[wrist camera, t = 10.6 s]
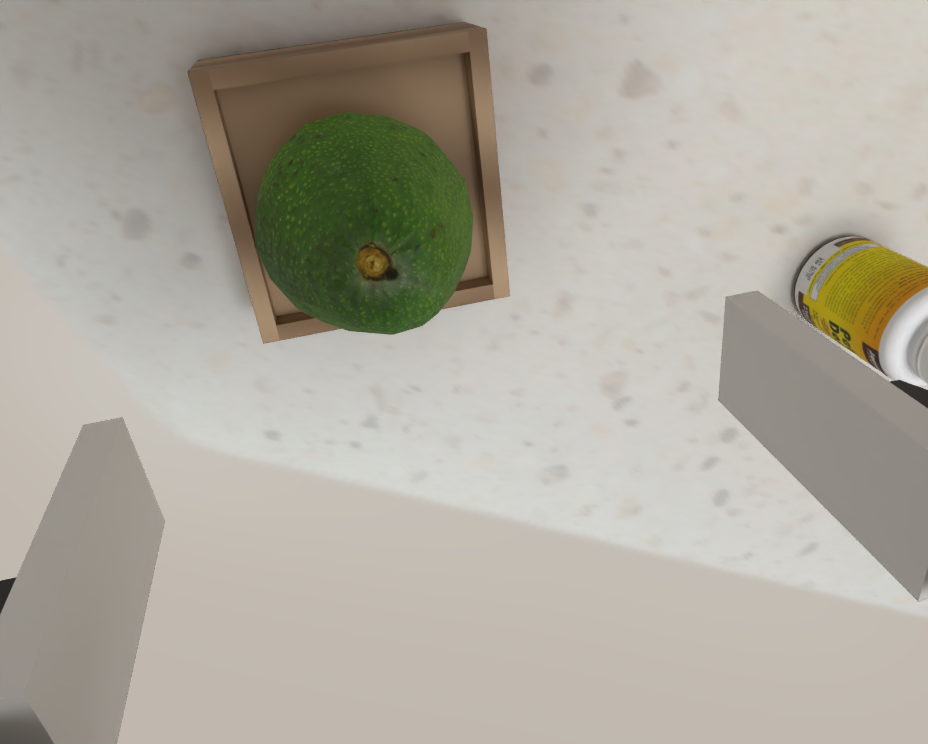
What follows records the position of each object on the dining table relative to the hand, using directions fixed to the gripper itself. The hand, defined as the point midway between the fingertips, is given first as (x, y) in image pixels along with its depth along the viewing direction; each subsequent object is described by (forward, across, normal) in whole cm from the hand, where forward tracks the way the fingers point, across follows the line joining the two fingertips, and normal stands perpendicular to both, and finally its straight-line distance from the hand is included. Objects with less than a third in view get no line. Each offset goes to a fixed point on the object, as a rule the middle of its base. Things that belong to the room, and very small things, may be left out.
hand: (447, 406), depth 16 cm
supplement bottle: (+22, +26, -11) cm, 35 cm away
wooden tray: (+22, 0, 0) cm, 22 cm away
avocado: (+19, -1, 0) cm, 19 cm away
